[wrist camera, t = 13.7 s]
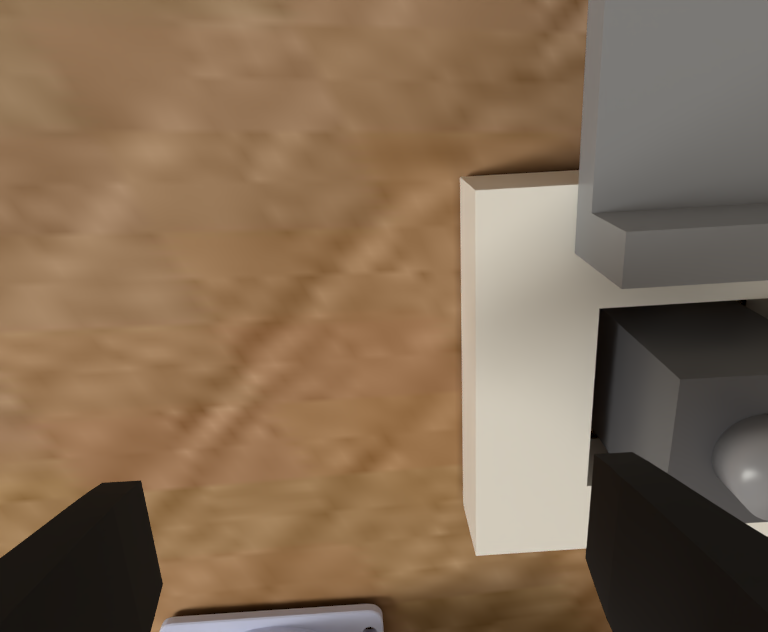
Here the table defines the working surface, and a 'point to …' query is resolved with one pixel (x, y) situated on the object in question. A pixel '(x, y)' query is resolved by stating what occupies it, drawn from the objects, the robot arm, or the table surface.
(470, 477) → the socket plate
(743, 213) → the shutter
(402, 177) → the table surface
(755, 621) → the robot arm
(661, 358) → the plug
